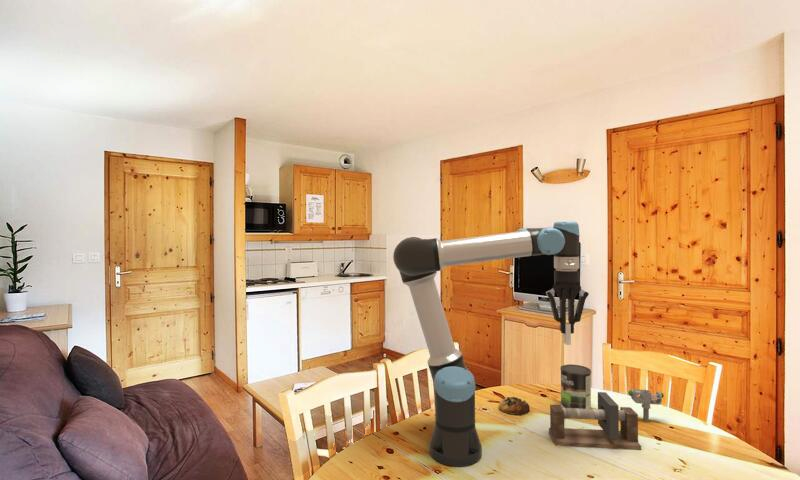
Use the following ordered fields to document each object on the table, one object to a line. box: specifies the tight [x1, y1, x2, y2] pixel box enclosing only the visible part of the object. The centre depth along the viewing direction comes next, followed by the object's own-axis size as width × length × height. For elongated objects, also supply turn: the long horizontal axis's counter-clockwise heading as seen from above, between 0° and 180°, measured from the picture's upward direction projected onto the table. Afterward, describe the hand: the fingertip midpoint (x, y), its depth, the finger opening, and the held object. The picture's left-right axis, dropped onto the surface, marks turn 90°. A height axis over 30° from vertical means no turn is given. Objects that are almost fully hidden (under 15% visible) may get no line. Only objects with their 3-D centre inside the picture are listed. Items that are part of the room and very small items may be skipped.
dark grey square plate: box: [597, 391, 620, 439], centre depth 125 cm, size 2×10×10 cm, turn 173°
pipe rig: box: [548, 404, 642, 451], centre depth 126 cm, size 24×9×10 cm, turn 83°
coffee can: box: [560, 364, 592, 409], centre depth 149 cm, size 10×10×14 cm
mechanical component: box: [628, 388, 665, 423], centre depth 138 cm, size 3×10×10 cm, turn 79°
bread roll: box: [498, 396, 530, 416], centre depth 149 cm, size 11×11×5 cm
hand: (567, 343), depth 131 cm, fingers closed
